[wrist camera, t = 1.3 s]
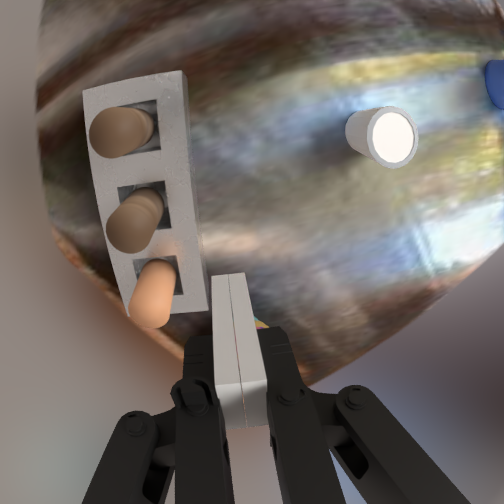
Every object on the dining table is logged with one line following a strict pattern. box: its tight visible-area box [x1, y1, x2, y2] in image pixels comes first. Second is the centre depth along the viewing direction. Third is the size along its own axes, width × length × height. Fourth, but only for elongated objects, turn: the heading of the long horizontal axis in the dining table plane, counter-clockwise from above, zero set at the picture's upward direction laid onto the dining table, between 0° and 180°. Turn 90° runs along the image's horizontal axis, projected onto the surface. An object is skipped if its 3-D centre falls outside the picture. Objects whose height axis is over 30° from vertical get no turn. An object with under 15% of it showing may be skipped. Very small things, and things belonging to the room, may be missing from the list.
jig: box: [83, 70, 208, 316], centre depth 31 cm, size 26×10×6 cm, turn 3°
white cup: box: [345, 106, 418, 169], centre depth 30 cm, size 7×7×7 cm
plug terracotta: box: [128, 258, 176, 328], centre depth 29 cm, size 4×4×7 cm
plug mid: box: [106, 187, 165, 254], centre depth 26 cm, size 4×4×7 cm
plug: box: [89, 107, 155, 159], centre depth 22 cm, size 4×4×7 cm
